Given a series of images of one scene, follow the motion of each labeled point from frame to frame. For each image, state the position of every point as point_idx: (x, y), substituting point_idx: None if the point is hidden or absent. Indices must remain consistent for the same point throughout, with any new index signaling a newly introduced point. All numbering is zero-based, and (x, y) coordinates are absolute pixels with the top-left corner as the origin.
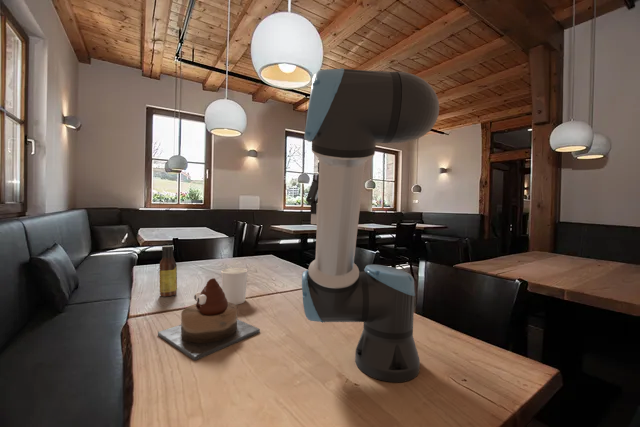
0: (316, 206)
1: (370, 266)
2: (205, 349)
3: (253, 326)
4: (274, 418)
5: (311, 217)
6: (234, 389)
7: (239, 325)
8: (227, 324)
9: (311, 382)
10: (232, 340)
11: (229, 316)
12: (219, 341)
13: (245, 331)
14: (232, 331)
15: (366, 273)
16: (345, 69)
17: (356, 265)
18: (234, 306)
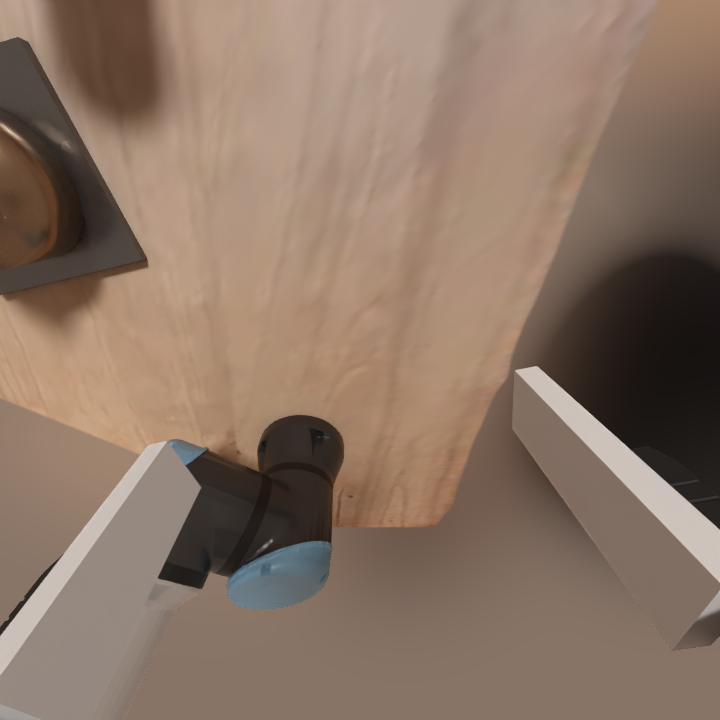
0: (61, 686)
1: (244, 586)
2: (13, 280)
3: (128, 236)
4: (127, 446)
5: (113, 498)
6: (84, 392)
7: (90, 207)
8: (31, 262)
9: (188, 427)
10: (72, 276)
11: (19, 263)
12: (41, 265)
13: (105, 252)
14: (65, 249)
15: (231, 575)
16: None
17: (198, 593)
18: (25, 205)
